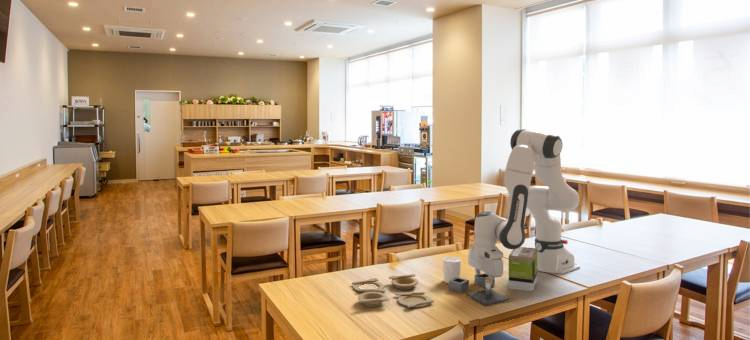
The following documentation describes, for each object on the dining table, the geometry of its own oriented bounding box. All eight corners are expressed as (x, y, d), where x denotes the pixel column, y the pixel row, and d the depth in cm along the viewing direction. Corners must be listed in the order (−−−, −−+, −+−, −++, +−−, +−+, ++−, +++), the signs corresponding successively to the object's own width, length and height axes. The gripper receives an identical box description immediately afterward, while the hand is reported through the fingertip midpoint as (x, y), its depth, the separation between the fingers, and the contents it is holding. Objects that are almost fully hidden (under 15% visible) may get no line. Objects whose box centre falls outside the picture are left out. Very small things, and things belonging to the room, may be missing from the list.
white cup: (460, 284, 210) (460, 262, 208) (442, 283, 211) (442, 261, 210) (461, 278, 217) (461, 257, 216) (443, 277, 219) (443, 256, 218)
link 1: (456, 286, 208) (456, 277, 208) (468, 289, 204) (469, 280, 204) (448, 290, 204) (449, 280, 203) (461, 293, 200) (461, 283, 199)
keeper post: (490, 290, 202) (491, 273, 201) (509, 300, 191) (510, 282, 190) (466, 295, 197) (466, 277, 196) (484, 306, 186) (485, 286, 185)
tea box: (514, 277, 218) (514, 245, 216) (537, 280, 213) (538, 247, 212) (507, 288, 204) (508, 254, 203) (532, 292, 200) (533, 257, 198)
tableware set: (437, 309, 185) (437, 299, 184) (360, 315, 180) (360, 305, 180) (414, 279, 219) (414, 270, 219) (350, 283, 215) (350, 274, 214)
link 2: (485, 281, 213) (485, 272, 213) (494, 285, 208) (494, 276, 207) (474, 283, 211) (474, 274, 210) (483, 288, 205) (483, 279, 205)
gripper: (464, 244, 215) (464, 275, 217) (493, 256, 197) (493, 289, 199) (476, 243, 218) (476, 273, 220) (506, 254, 199) (505, 287, 201)
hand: (484, 281), depth 209 cm, fingers closed on link 2, 6 cm apart
